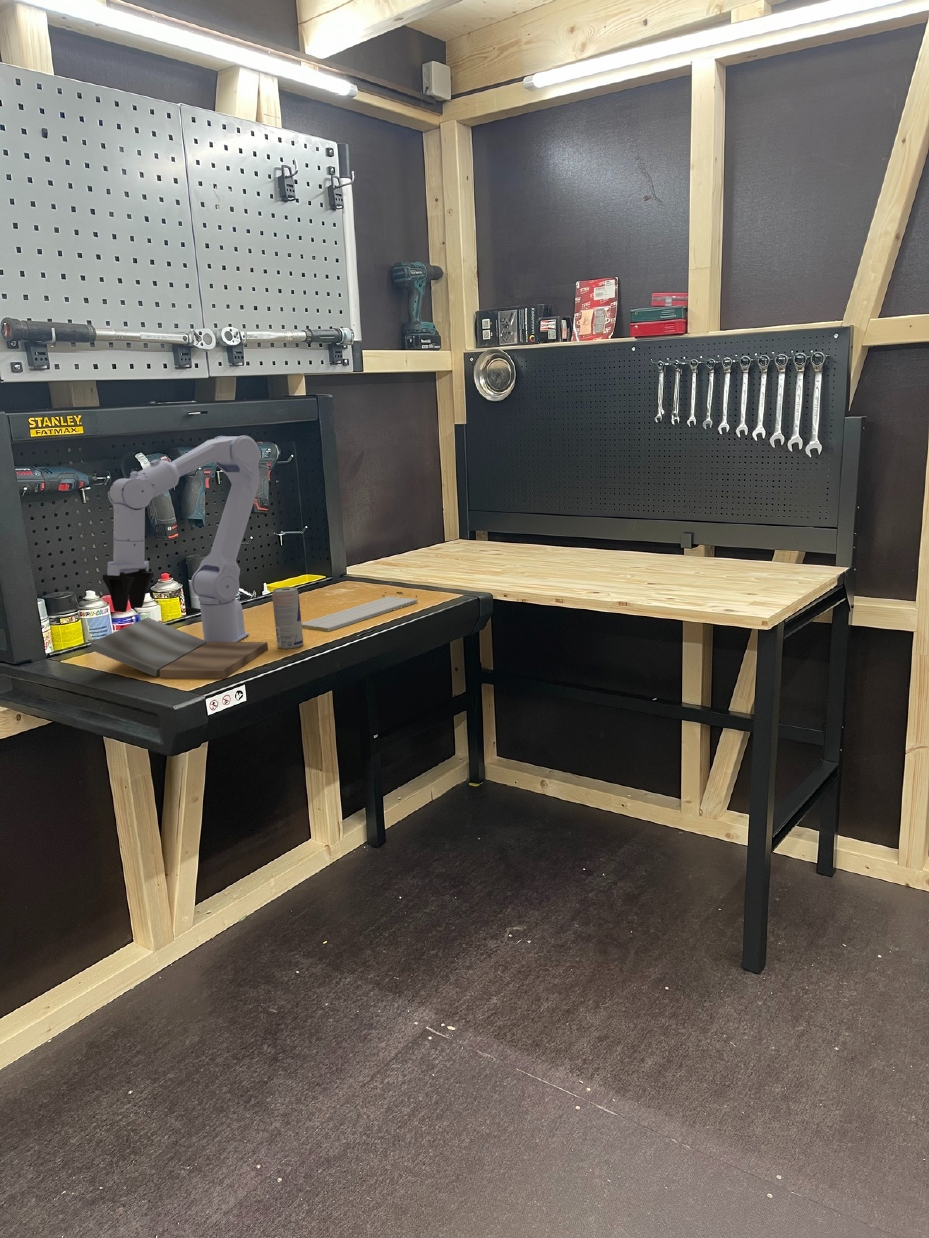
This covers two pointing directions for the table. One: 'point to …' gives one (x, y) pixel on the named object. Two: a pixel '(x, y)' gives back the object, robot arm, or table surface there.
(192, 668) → the laid board
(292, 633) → the energy drink
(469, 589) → the table surface
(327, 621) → the baseboard molding
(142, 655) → the plank
